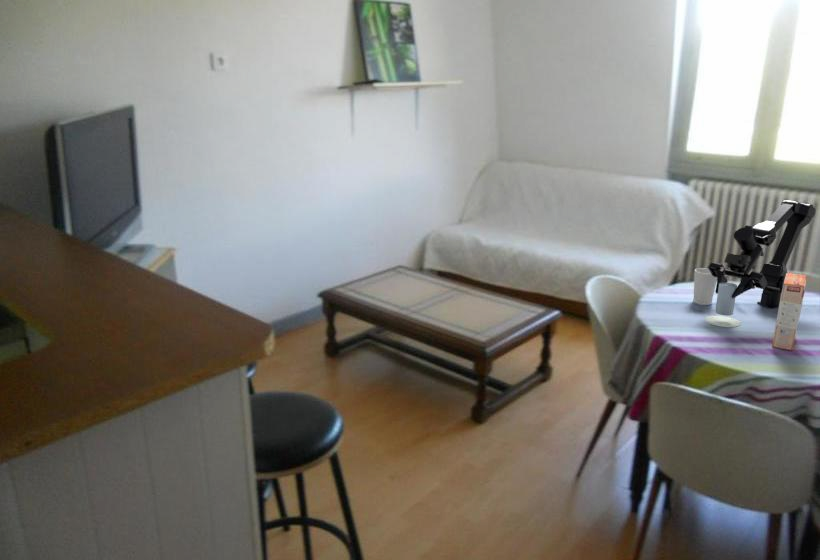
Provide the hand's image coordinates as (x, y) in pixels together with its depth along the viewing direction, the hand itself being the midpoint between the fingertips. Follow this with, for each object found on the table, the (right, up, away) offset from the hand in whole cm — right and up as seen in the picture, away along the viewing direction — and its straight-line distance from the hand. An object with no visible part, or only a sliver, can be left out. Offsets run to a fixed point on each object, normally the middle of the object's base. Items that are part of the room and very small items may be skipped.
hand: (724, 295), depth 220 cm
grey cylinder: (+1, -6, +3) cm, 7 cm away
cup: (+3, -3, +23) cm, 24 cm away
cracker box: (+12, -15, -14) cm, 24 cm away
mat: (+1, -9, +3) cm, 10 cm away
